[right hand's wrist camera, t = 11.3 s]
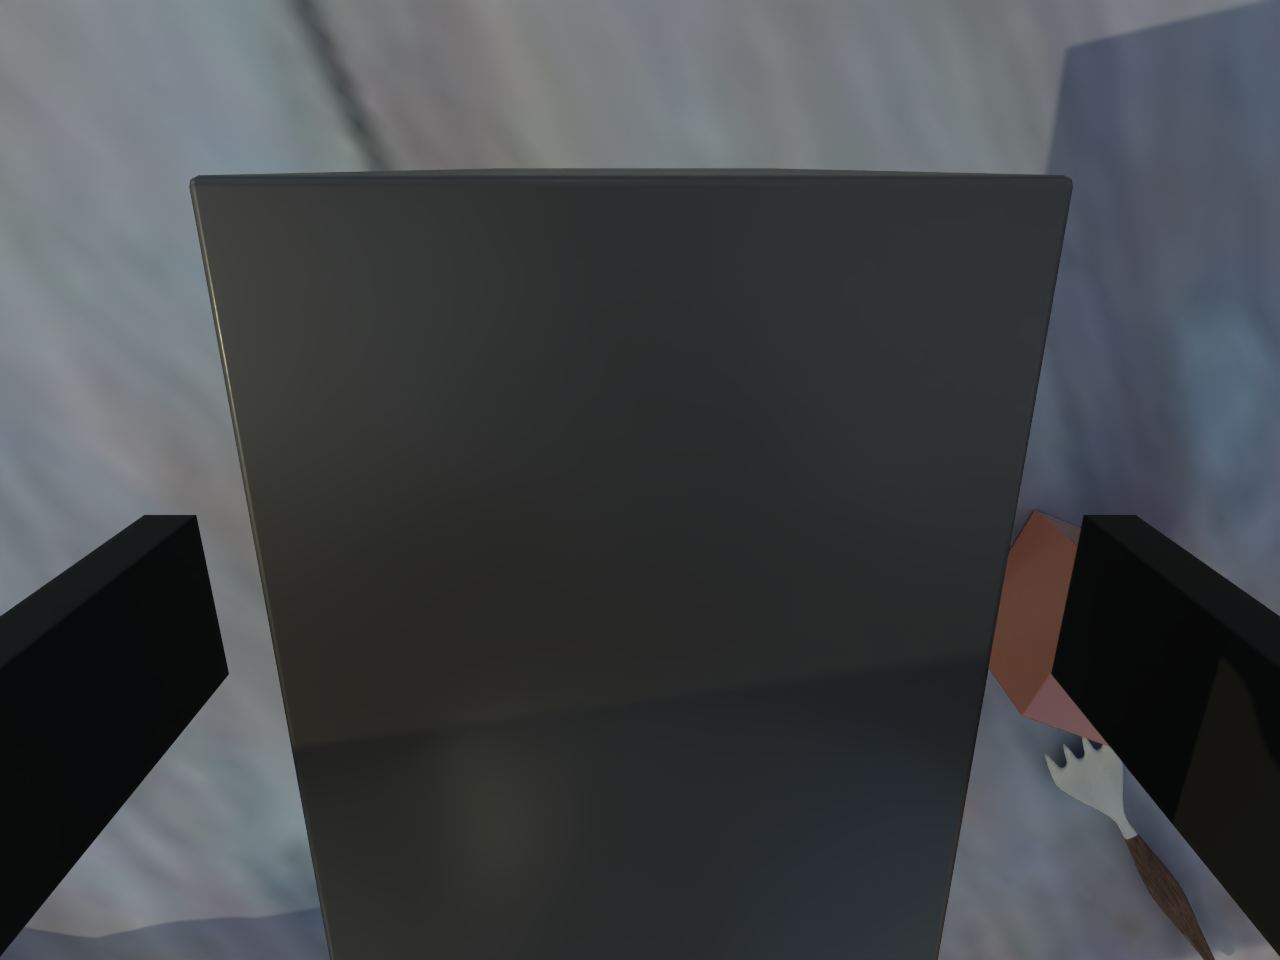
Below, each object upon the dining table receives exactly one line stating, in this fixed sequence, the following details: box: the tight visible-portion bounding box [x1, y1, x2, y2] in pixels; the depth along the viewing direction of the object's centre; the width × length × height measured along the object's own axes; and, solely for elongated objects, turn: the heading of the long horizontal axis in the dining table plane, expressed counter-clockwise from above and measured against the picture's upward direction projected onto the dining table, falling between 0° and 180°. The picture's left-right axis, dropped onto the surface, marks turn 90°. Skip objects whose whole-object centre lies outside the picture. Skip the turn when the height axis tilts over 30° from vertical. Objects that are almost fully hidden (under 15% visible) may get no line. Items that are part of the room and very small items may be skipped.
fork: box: [1044, 737, 1215, 960], centre depth 32 cm, size 3×16×2 cm, turn 35°
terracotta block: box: [989, 510, 1110, 747], centre depth 27 cm, size 5×5×5 cm
